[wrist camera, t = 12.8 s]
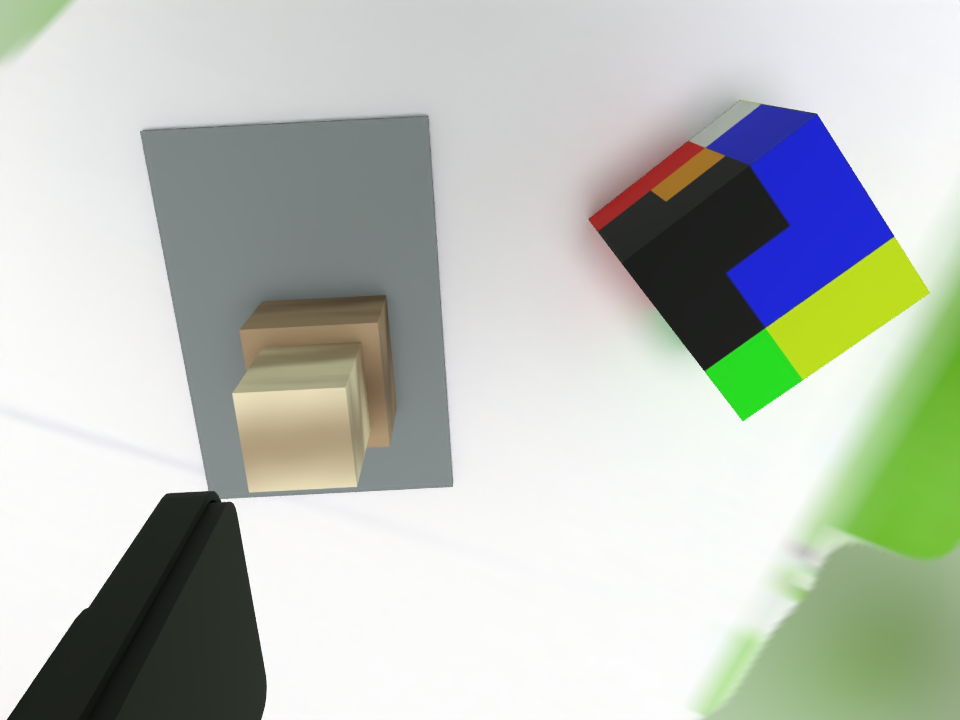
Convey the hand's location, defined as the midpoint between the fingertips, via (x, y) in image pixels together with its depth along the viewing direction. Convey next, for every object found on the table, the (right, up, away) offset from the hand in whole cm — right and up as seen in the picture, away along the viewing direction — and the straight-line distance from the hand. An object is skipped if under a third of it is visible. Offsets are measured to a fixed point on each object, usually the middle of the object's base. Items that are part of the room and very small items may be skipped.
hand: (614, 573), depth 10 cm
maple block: (-10, +1, +32) cm, 34 cm away
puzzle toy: (+11, +10, +36) cm, 39 cm away
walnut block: (-10, +3, +37) cm, 38 cm away
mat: (-11, +5, +37) cm, 39 cm away
